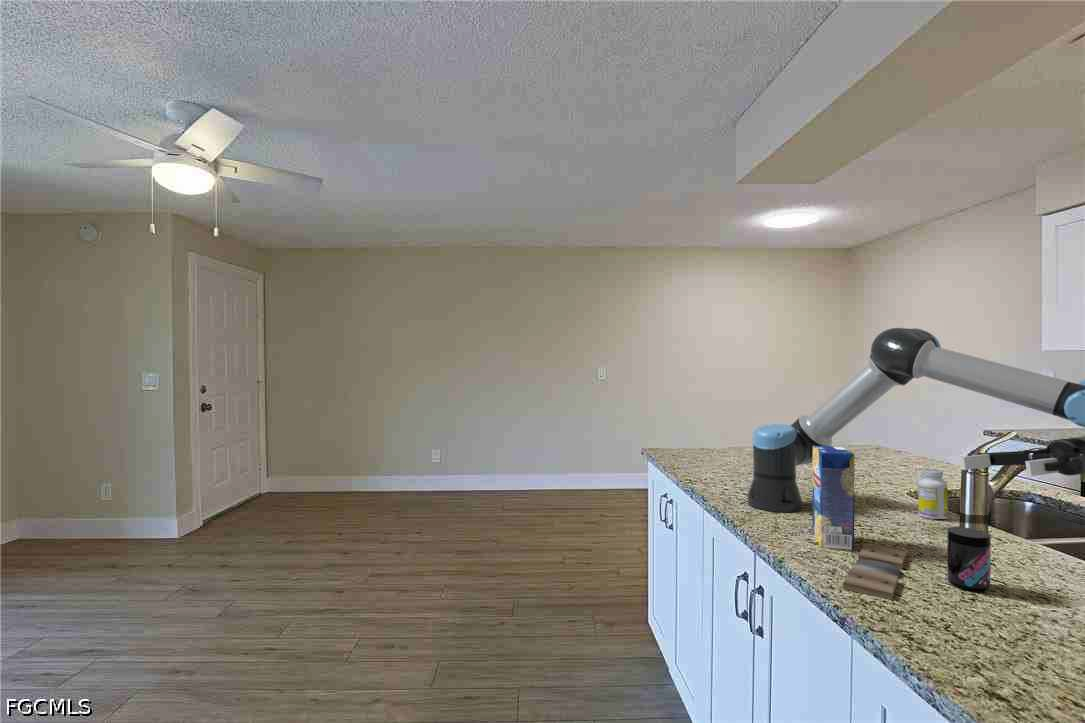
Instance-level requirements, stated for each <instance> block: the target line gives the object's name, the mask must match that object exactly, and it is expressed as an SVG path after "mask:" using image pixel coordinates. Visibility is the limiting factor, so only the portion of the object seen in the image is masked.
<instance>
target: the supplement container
mask: <svg viewBox="0 0 1085 723" xmlns="http://www.w3.org/2000/svg"><path fill="white" fill-rule="evenodd" d="M946 534H947V535H946V538H947V540H946V542H947V544H946V545H947V551H946V552H947V553H946V554H947V558H946V561H947V564H946V566H947V569H946V572H947V574H946V577H947V578H946V579H947V581H948V583H949V584H950V585H951V586H953V587H955V588H957V589H960V590H964V591H967V592H973V593H984V592H985V593H986V592H988V591H989V590H990V588H991V560H992V559H991V549H992V548H991V546H992V545H991V544H992V540H991V539H992V536H991V534H990V533H989V532H987V531H983V530H980V529H977V528H976V529H975V528H969V527H963V526H962V527H961V526H952V527H948V528H947V529H946Z"/></svg>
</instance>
